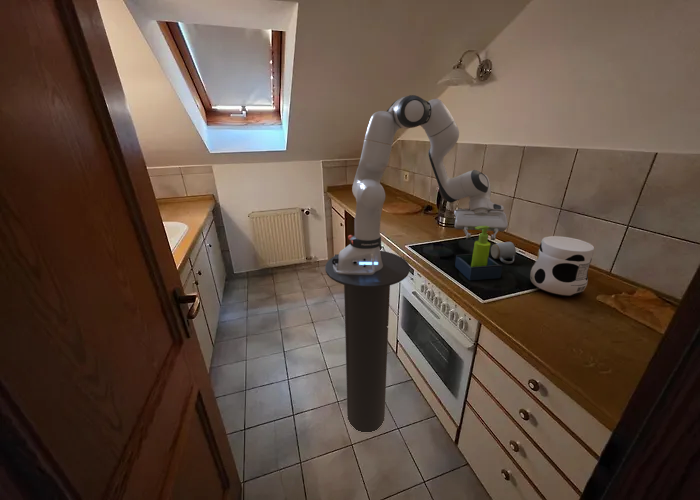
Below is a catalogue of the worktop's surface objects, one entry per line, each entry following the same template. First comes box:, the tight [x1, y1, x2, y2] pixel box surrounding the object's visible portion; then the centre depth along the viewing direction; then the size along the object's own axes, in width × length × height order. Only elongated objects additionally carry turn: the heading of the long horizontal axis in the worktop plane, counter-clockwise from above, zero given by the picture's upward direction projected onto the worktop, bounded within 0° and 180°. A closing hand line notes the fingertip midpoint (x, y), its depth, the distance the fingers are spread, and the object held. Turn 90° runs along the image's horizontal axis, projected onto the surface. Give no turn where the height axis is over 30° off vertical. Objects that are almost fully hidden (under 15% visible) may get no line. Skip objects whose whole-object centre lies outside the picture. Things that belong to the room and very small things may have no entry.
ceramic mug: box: [490, 241, 517, 265], centre depth 134 cm, size 11×8×8 cm
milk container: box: [529, 235, 595, 297], centre depth 107 cm, size 17×17×18 cm
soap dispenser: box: [471, 226, 491, 267], centre depth 120 cm, size 6×7×20 cm
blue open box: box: [454, 253, 503, 281], centre depth 123 cm, size 13×13×6 cm
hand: (480, 238), depth 121 cm, fingers open, 8 cm apart
